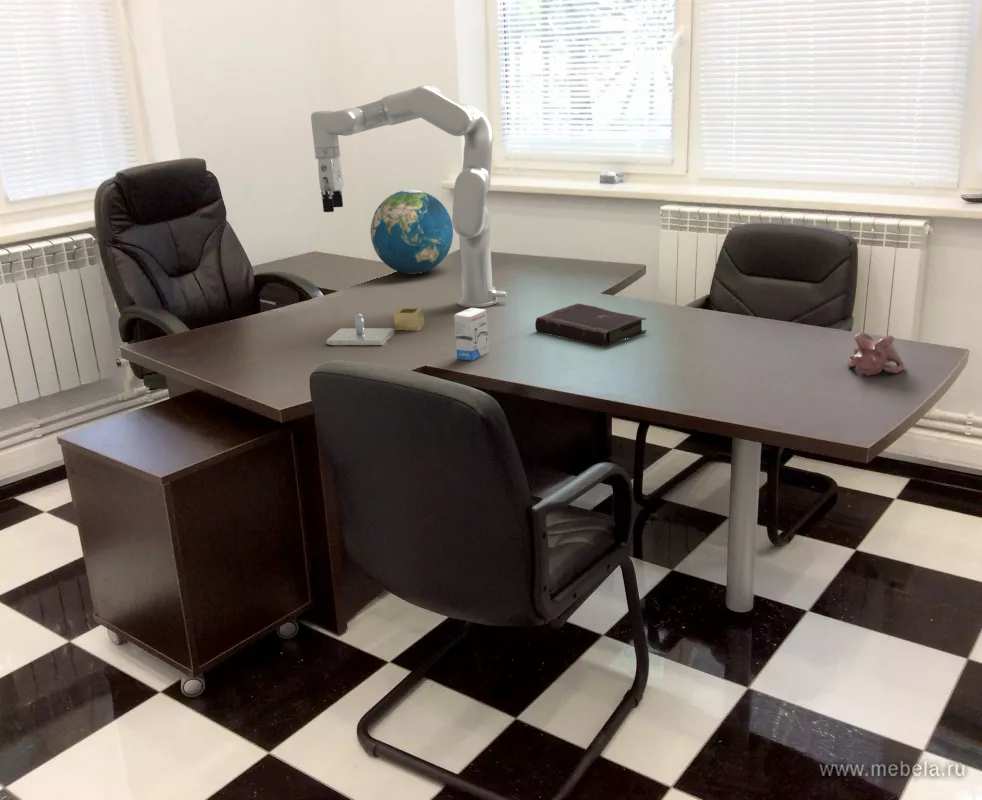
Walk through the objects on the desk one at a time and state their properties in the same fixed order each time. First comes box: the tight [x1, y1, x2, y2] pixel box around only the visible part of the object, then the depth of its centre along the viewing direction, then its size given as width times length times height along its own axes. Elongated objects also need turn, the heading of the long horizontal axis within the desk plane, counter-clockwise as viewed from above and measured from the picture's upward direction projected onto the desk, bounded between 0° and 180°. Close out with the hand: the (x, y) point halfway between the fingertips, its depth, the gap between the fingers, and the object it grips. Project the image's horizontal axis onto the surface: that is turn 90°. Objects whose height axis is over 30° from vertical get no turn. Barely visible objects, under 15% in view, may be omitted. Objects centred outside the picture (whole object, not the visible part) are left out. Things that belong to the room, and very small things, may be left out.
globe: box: [370, 189, 454, 275], centre depth 337 cm, size 30×30×30 cm
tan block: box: [393, 307, 425, 332], centre depth 271 cm, size 7×7×5 cm
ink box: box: [453, 307, 490, 361], centre depth 240 cm, size 9×5×12 cm, turn 148°
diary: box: [535, 303, 647, 348], centre depth 257 cm, size 19×25×5 cm
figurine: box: [847, 331, 906, 377], centre depth 213 cm, size 12×10×15 cm
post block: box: [326, 313, 395, 346], centre depth 261 cm, size 16×12×8 cm
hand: (333, 209), depth 291 cm, fingers open, 9 cm apart
